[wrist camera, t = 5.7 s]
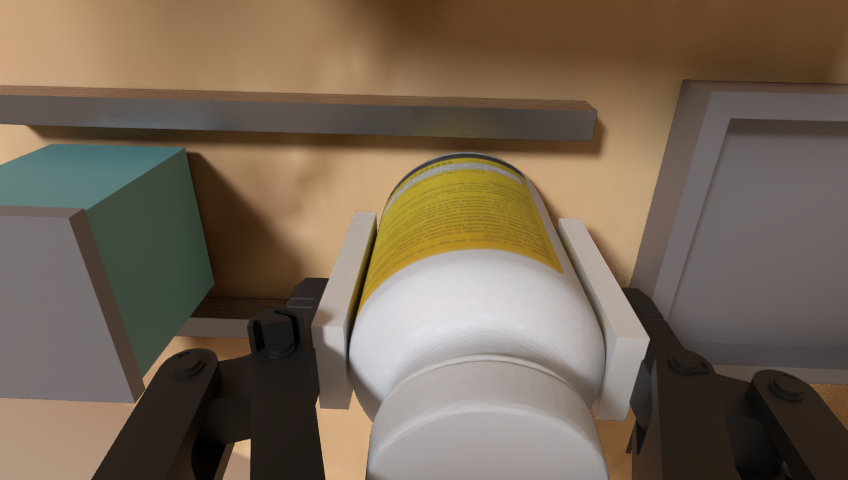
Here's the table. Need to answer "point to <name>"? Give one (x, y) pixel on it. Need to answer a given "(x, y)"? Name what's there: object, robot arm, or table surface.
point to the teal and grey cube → (95, 268)
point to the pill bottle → (475, 334)
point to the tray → (754, 228)
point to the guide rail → (296, 118)
